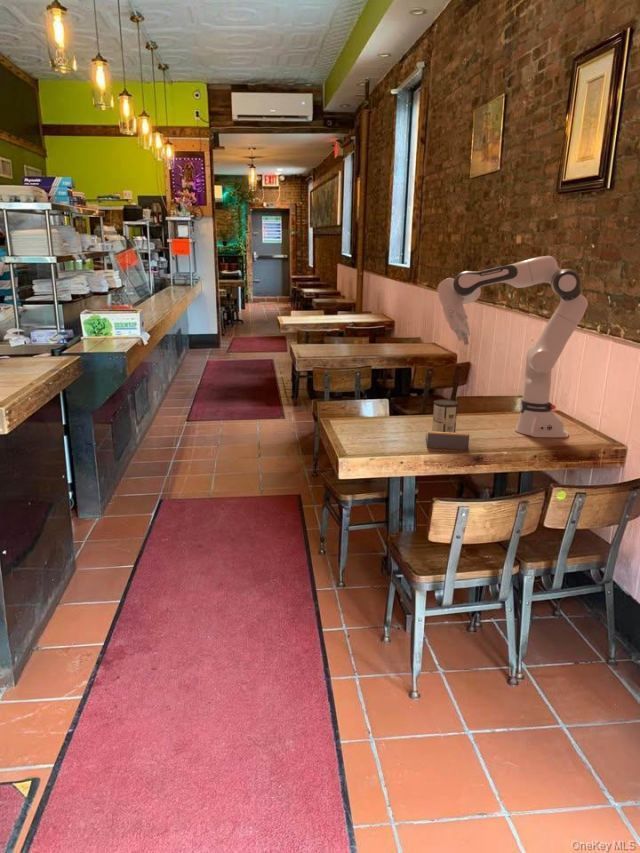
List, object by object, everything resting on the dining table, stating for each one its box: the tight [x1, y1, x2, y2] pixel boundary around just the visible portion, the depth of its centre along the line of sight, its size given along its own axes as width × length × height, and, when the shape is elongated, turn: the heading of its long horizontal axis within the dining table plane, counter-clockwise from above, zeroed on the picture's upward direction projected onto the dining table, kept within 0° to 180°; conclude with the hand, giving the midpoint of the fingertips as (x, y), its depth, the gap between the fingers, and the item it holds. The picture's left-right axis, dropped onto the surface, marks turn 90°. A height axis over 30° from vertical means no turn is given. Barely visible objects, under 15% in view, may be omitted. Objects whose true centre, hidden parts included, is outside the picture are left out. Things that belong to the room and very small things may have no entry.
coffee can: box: [431, 399, 459, 433], centre depth 273 cm, size 10×10×14 cm
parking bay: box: [425, 430, 470, 451], centre depth 259 cm, size 16×13×7 cm
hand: (464, 343), depth 272 cm, fingers open, 8 cm apart
